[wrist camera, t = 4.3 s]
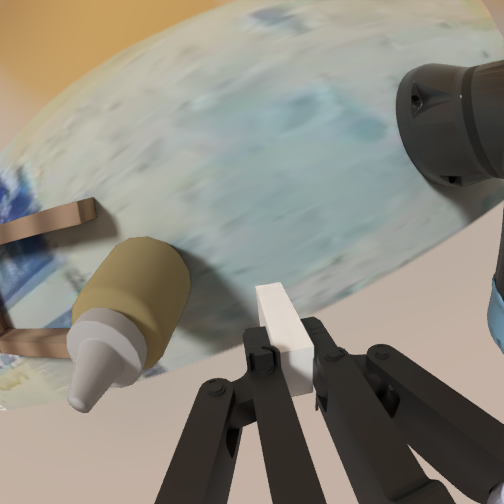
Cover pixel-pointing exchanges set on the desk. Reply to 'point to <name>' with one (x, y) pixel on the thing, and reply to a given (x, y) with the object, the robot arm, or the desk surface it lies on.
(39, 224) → the bottle rest
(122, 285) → the squeeze bottle
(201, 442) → the robot arm
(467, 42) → the desk surface
